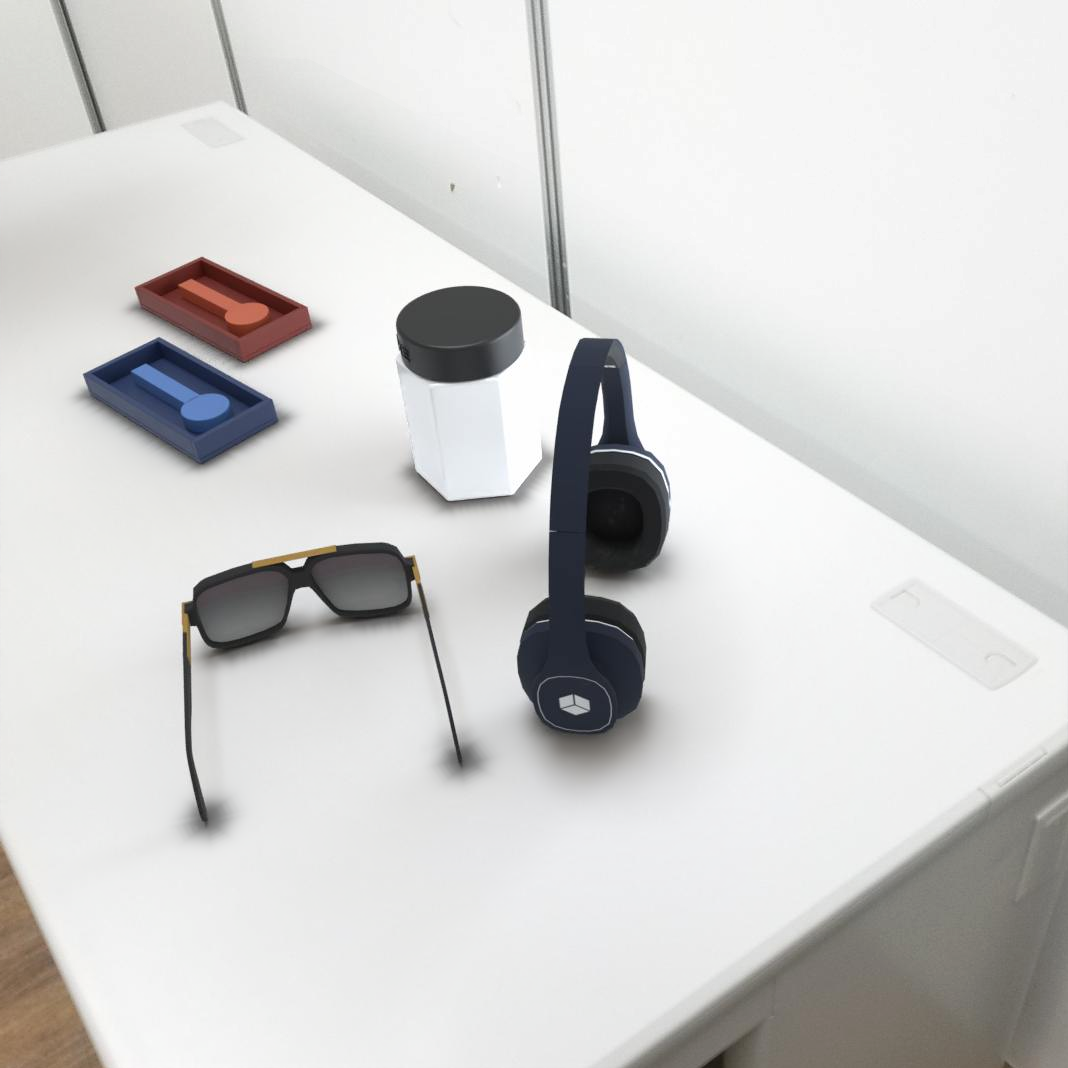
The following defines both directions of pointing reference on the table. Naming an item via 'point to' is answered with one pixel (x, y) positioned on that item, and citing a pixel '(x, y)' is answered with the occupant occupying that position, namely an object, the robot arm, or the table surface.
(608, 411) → the headphones
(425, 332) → the jar
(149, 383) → the blue spoon
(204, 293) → the red spoon
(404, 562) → the sunglasses
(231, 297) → the red tray
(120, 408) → the blue tray
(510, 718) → the table surface
